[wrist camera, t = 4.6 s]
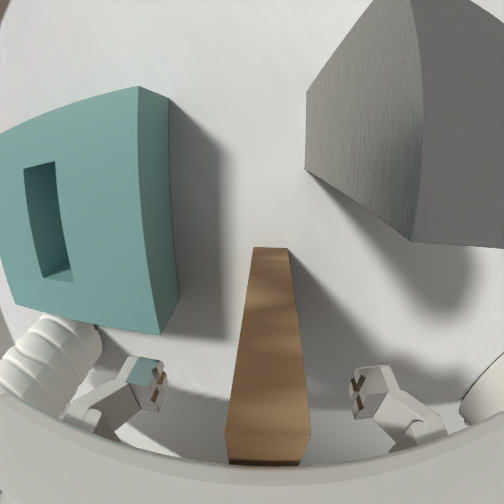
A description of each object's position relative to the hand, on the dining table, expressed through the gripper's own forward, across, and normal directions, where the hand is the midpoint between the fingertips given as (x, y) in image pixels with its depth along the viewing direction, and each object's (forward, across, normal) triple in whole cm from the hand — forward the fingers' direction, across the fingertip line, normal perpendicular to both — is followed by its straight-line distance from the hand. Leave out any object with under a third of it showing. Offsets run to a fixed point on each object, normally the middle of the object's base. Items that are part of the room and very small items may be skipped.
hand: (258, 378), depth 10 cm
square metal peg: (+8, +4, +10) cm, 13 cm away
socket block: (+8, -13, +5) cm, 16 cm away
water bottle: (+8, -17, -7) cm, 20 cm away
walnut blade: (+8, 0, 0) cm, 8 cm away
